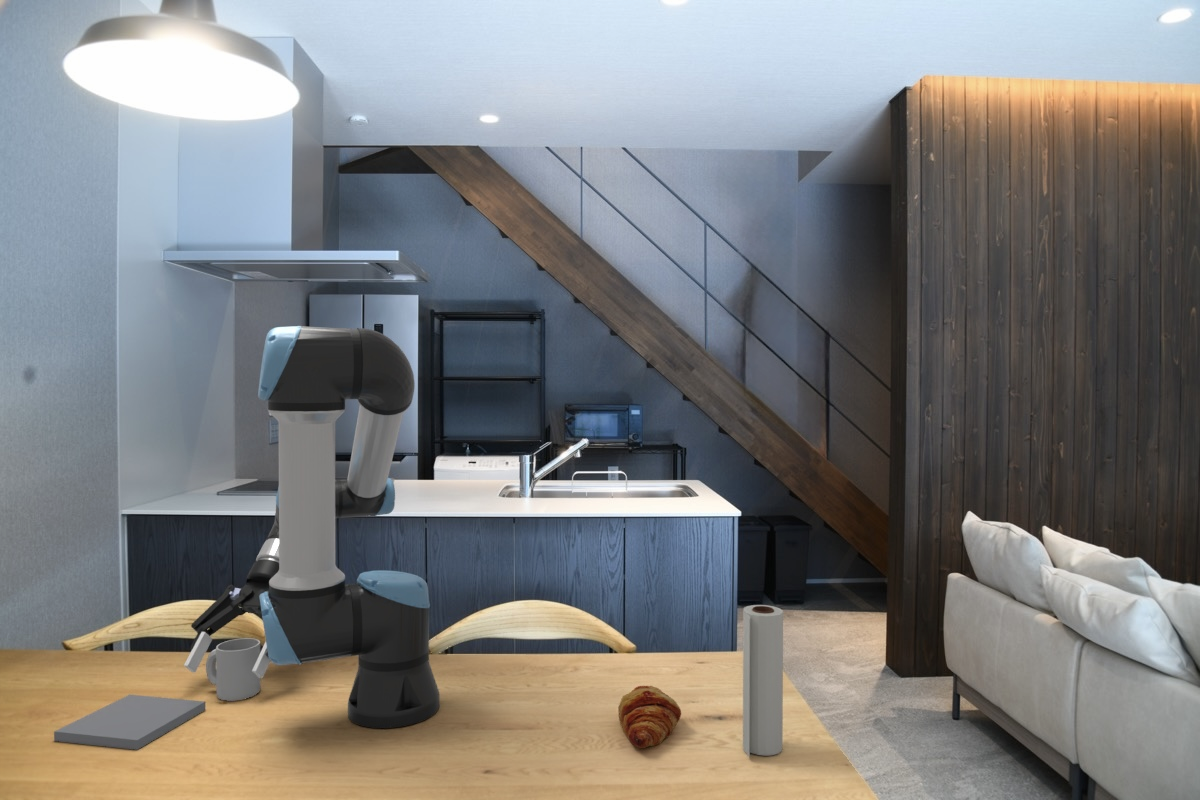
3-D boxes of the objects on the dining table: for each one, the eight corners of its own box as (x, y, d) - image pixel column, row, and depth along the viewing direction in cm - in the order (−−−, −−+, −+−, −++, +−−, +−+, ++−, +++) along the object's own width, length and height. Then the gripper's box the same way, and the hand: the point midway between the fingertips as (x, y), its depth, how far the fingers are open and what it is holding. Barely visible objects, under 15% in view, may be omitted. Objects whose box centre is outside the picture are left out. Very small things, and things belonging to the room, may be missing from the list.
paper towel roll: (768, 736, 124) (769, 601, 124) (790, 753, 119) (791, 612, 118) (728, 743, 122) (728, 606, 122) (748, 761, 116) (749, 617, 116)
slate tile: (205, 710, 134) (205, 701, 134) (137, 750, 120) (137, 740, 120) (129, 703, 137) (129, 694, 137) (54, 741, 123) (54, 731, 123)
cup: (244, 703, 137) (243, 652, 137) (193, 699, 139) (192, 648, 139) (269, 687, 145) (268, 639, 144) (220, 683, 146) (220, 636, 146)
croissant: (637, 720, 139) (616, 679, 139) (688, 696, 138) (666, 654, 138) (624, 777, 118) (600, 728, 118) (684, 749, 117) (659, 700, 117)
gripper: (339, 581, 154) (295, 686, 140) (226, 575, 159) (172, 676, 145) (324, 560, 149) (277, 667, 134) (208, 554, 154) (150, 657, 139)
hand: (223, 672), depth 140 cm, fingers open, 13 cm apart
